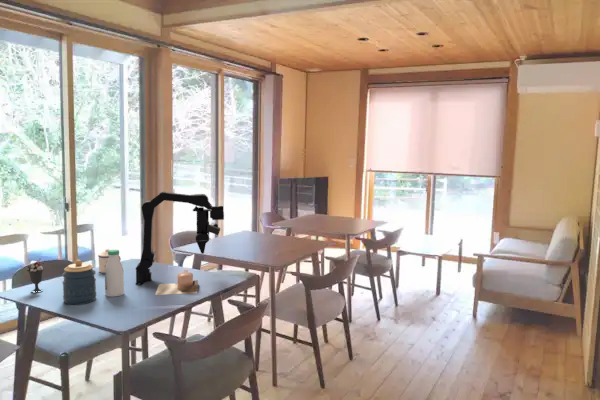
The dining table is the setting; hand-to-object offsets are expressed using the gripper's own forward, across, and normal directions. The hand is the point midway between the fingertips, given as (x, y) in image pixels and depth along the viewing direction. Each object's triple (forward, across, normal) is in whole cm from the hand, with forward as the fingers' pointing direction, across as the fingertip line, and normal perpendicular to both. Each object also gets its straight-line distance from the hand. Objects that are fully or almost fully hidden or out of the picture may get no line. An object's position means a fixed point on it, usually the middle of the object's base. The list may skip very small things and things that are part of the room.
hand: (202, 251), depth 235 cm
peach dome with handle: (+14, -13, +8) cm, 20 cm away
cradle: (+15, -15, +11) cm, 24 cm away
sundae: (+15, -8, +73) cm, 75 cm away
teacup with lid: (+15, +25, +48) cm, 56 cm away
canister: (+15, -23, +51) cm, 58 cm away
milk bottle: (+15, -17, +38) cm, 45 cm away
